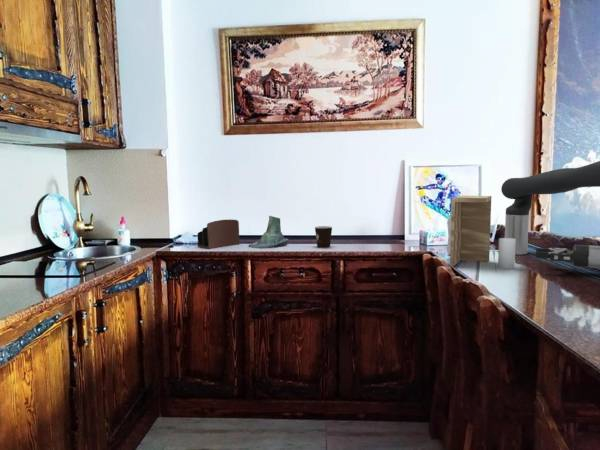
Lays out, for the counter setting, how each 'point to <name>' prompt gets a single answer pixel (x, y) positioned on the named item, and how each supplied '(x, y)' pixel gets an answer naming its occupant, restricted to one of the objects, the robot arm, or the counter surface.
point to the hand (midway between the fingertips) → (535, 252)
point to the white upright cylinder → (506, 253)
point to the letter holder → (219, 234)
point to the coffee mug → (323, 236)
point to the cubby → (470, 229)
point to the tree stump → (271, 235)
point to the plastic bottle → (449, 235)
